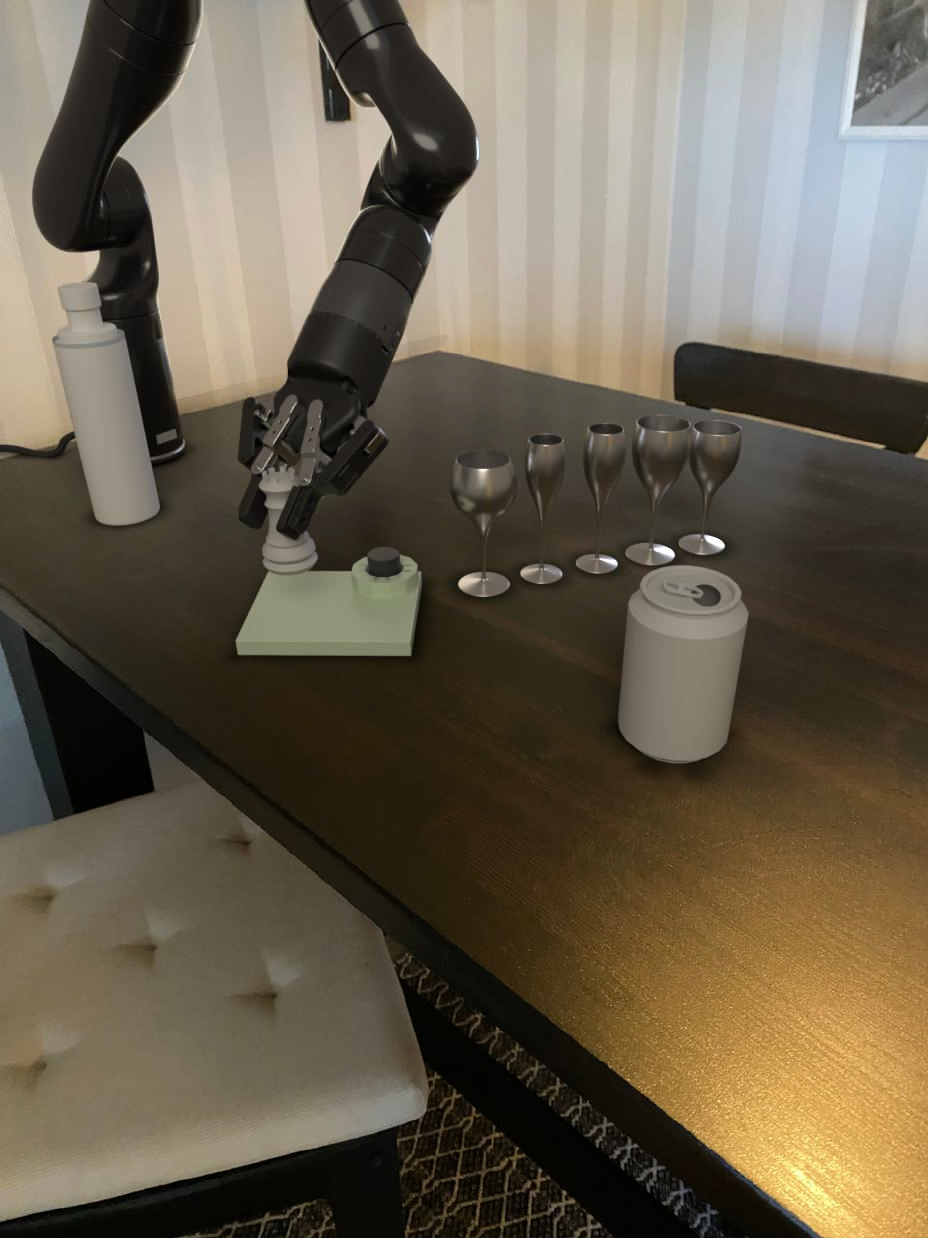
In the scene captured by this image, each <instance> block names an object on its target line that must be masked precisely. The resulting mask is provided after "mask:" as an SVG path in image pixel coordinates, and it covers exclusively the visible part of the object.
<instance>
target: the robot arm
mask: <svg viewBox="0 0 928 1238" xmlns="http://www.w3.org/2000/svg"><path fill="white" fill-rule="evenodd" d="M303 2H304V6H305V9H306V12H307V15H308V18H309V20H310V23H311V26H312V28H313V30H314V32H315V34H316V37H317V38H318V40H319V42H320V43H321V44H320V45H321V46H322V49H323V50H324V52H325V54H326V57H327V59H328V61H329V63H330V65H331V67H332V69H333V71H334V73H335V75H336V77H337V80H338V81H339V83H340V86H341V87H342V89H343V90H344V92H345V94H346V95H347V97H348V98H349V99H350V101H351V102H352V103H353V104H354V105H356V106H357V107H359V108H362V109H369V110H370V109H371V110H372V109H377V111H378V112H379V113H380V114H381V116H382V117H383V119H384V120H385V122H386V124H387V126H388V128H389V131H390V133H391V134H390V136H389V137H388V139H387V141H386V143H385V144H384V146H383V147H382V149H381V151H380V152H379V155H378V157H377V159H376V162H375V164H374V166H373V169H372V171H371V174H370V176H369V179H368V181H367V184H366V187H365V189H364V193H363V195H362V199H361V202H360V205H359V209H358V213H357V215H356V217H355V218H354V220H353V222H352V224H351V225H350V226H349V229H348V231H347V233H346V235H345V237H344V240H343V242H342V243H341V247H340V249H339V250H338V253H337V255H336V257H335V260H334V262H333V265H332V266H331V268H330V270H329V272H328V274H327V275H326V277H325V279H324V280H323V281H322V283H321V284H320V286H319V289H318V290H317V292H316V295H315V297H314V299H313V301H312V304H311V306H310V308H309V311H308V313H307V315H306V317H305V320H304V321H303V324H302V326H301V328H300V331H299V333H298V335H297V338H296V340H295V342H294V345H293V346H292V349H291V351H290V354H289V356H288V358H287V360H286V368H287V369H286V371H287V378H286V381H285V382H284V384H283V385H282V386H281V387H280V388H279V389H278V390H277V391H276V393H275V394H274V397H273V398H271V399H268V400H262V401H258V400H257V399H256V398H255V397H253V396H249V397H246V398H245V399H244V401H243V403H242V410H241V421H240V428H239V429H240V431H239V439H238V449H237V461H238V462H239V463H240V464H242V465H243V466H244V467H245V468H246V469H247V470H249V472H250V474H251V477H250V480H249V481H248V485H247V487H246V489H245V490H244V491H245V492H244V494H243V496H242V498H241V501H240V503H239V505H238V511H237V512H238V520H239V522H241V523H242V524H244V525H246V526H247V527H248V528H251V529H254V530H258V531H259V530H261V529H262V527H263V525H264V523H265V521H266V518H267V516H268V515H269V513H268V508H267V507H266V506H265V504H264V503H265V501H266V500H267V496H266V494H265V493H264V492H263V491H262V490H261V489H260V488H259V484H260V482H261V481H262V479H263V477H262V472H263V471H267V473H268V474H269V472H268V468H271V467H274V468H275V472H280V466H286V469H287V472H289V470H288V468H290V467H292V466H293V467H294V466H296V465H297V464H298V463H299V462H300V460H301V459H302V461H301V463H300V464H301V465H300V468H299V473H298V476H297V477H298V484H299V487H297V486H293V487H292V489H291V492H290V494H289V496H288V499H287V501H286V503H285V506H284V508H283V510H282V513H281V515H280V517H279V520H278V522H277V524H276V530H277V532H279V533H280V534H282V535H283V536H285V537H286V538H288V539H292V540H297V539H298V538H299V536H300V534H303V533H304V532H305V531H307V530H308V528H309V526H310V522H311V520H312V518H313V516H314V513H315V511H316V508H317V506H318V504H319V501H320V500H321V499H324V498H325V497H326V496H329V495H333V494H334V495H337V496H338V497H343V496H345V495H346V494H347V493H348V492H349V491H350V489H352V487H353V486H354V485H355V484H356V482H358V480H359V479H360V478H361V477H362V476H363V475H364V474H365V472H367V470H368V469H369V468H370V466H372V464H373V463H374V462H375V460H376V459H377V458H378V457H379V456H380V455H381V453H382V452H383V451H384V450H385V449H386V447H388V445H389V443H390V439H389V436H387V434H385V432H384V431H383V429H381V427H379V425H378V424H376V423H375V422H374V421H373V420H371V419H368V417H369V416H368V409H369V408H371V407H372V406H373V405H374V404H375V403H376V401H377V398H378V396H379V393H380V392H381V389H382V386H383V384H384V382H385V379H386V377H387V374H388V372H389V370H390V367H391V365H392V362H393V360H394V358H395V355H396V354H397V351H398V349H399V346H400V344H401V341H402V340H403V337H404V334H405V331H406V328H407V324H408V321H409V316H410V314H411V311H412V307H413V305H414V303H415V300H416V298H417V296H418V293H419V291H420V289H421V286H422V284H423V282H424V279H425V277H426V274H427V271H428V269H429V266H430V263H431V259H432V254H433V245H432V240H433V237H434V234H435V232H436V230H437V228H438V225H439V224H440V221H441V219H442V217H443V215H444V214H445V212H446V210H447V208H448V207H449V205H450V204H451V203H452V201H453V200H454V199H455V198H456V197H457V195H458V194H459V193H460V192H461V191H462V190H463V188H464V187H465V186H466V185H467V184H468V183H469V181H470V180H471V179H472V178H473V176H474V174H475V173H476V171H477V168H478V166H479V161H480V141H479V136H478V135H479V134H478V132H477V128H476V124H475V122H474V119H473V117H472V114H471V112H470V110H469V108H468V107H467V105H466V104H465V102H464V100H463V99H462V97H461V96H460V95H459V94H458V92H457V91H456V89H455V88H454V87H453V85H451V83H450V82H449V81H448V80H447V78H446V77H445V76H444V74H443V73H442V72H441V70H440V69H439V68H438V66H437V65H436V64H435V62H434V61H433V60H432V58H430V57H429V56H428V54H427V53H426V52H425V51H424V50H423V49H422V48H421V46H420V44H419V43H418V41H417V38H416V35H415V32H413V29H412V27H411V25H410V23H409V20H408V18H407V16H406V14H405V11H404V9H403V7H402V6H401V3H400V0H303ZM205 3H206V2H205V0H89V3H88V7H87V11H86V16H85V18H84V19H85V20H84V25H83V28H82V32H81V33H82V34H81V36H80V37H81V38H80V43H79V46H78V49H77V53H76V56H75V60H74V63H73V66H72V69H71V73H70V76H69V80H68V83H67V87H66V90H65V93H64V96H63V100H62V103H61V105H60V108H59V111H58V114H57V116H56V118H55V121H54V123H53V126H52V128H51V131H50V133H49V136H48V138H47V140H46V143H45V145H44V147H43V149H42V153H41V155H40V157H39V160H38V162H37V166H36V168H35V172H34V176H33V180H32V188H31V203H32V204H31V205H32V211H33V212H32V213H33V217H34V220H35V224H36V226H37V228H38V230H39V232H40V234H41V236H42V237H43V238H44V239H45V241H46V242H47V243H48V244H50V245H51V246H52V247H53V248H56V249H57V250H59V251H61V252H66V253H71V254H72V253H75V254H76V253H77V254H83V253H84V254H85V253H91V252H97V251H98V255H99V256H98V262H97V263H96V266H95V267H94V269H93V270H92V271H91V273H90V274H89V275H88V276H87V277H86V278H85V279H83V280H82V281H81V282H91V283H96V284H97V286H98V291H99V295H100V300H101V306H100V307H99V309H100V313H101V318H102V322H107V323H112V324H114V325H115V326H116V328H117V329H120V330H122V331H124V334H125V339H126V344H127V349H128V353H129V358H130V363H131V368H132V373H133V377H134V382H135V387H136V392H137V397H138V402H139V407H140V412H141V416H142V421H143V426H144V431H145V436H146V441H147V446H148V451H149V456H150V461H151V466H152V465H153V466H154V465H158V464H163V463H166V462H169V461H173V460H175V459H177V458H178V457H180V456H182V455H183V454H184V453H185V452H186V449H187V447H186V441H185V438H184V433H183V430H182V429H183V428H182V424H181V418H180V413H179V408H178V407H179V406H178V402H177V396H176V390H175V384H174V380H173V375H172V374H173V373H172V368H171V364H170V358H169V352H168V351H169V350H168V346H167V341H166V336H165V331H164V324H163V319H162V313H161V309H160V303H159V289H160V284H161V273H160V266H159V258H158V250H157V242H156V235H155V234H156V233H155V226H154V218H153V212H152V207H151V202H150V201H151V200H150V198H149V194H148V191H147V188H146V186H145V183H144V181H143V179H142V177H141V175H140V173H139V171H138V170H137V169H136V167H135V166H134V165H133V164H132V163H131V162H130V161H129V160H127V159H126V158H124V157H122V156H119V154H120V153H121V151H122V150H123V148H124V147H125V146H126V145H127V143H128V142H129V141H130V140H131V139H132V138H133V137H134V136H135V135H136V134H137V133H138V132H139V131H140V130H141V129H142V128H143V127H144V126H145V125H146V124H147V123H148V122H149V121H150V120H151V119H152V118H153V117H154V116H155V115H156V114H157V113H158V112H159V111H160V110H161V108H162V107H164V105H166V103H167V102H168V100H170V98H172V96H173V95H174V93H175V92H176V90H177V89H178V88H179V86H180V84H181V82H182V81H183V78H184V76H185V74H186V71H187V69H188V66H189V65H190V64H189V63H190V61H191V58H192V55H193V53H194V50H195V47H196V44H197V41H198V39H199V36H200V34H201V29H202V26H203V22H204V18H205V11H206V10H205V5H206V4H205ZM73 440H76V437H75V433H74V430H73V431H70V432H68V433H66V434H65V435H63V436H62V437H61V438H60V440H59V442H58V444H57V446H56V448H54V449H51V450H36V449H33V448H28V447H25V446H21V445H15V444H0V453H15V454H20V455H22V456H28V457H32V458H33V457H35V458H46V459H47V458H49V459H50V458H56V457H58V456H61V455H62V454H64V452H65V451H66V449H67V445H68V444H69V443H70V442H71V441H73ZM282 442H284V444H286V445H287V446H288V448H287V447H286V446H284V445H283V443H282ZM276 458H277V459H276ZM275 459H276V460H275ZM274 461H275V462H274ZM273 462H274V464H273V465H272V463H273ZM271 465H272V466H271Z"/></svg>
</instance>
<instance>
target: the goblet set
mask: <svg viewBox="0 0 928 1238" xmlns="http://www.w3.org/2000/svg"><path fill="white" fill-rule="evenodd" d="M690 422H691V421H689V420H687V419H685V418H684V417H680V416H676V415H671V414H649V415H645V416H641V417H639V418H638V419H637V420H636V422H635V425H634V430H633V434H632V438H631V459H632V466H633V468H634V472H635V474H636V476H637V478H638V479H639V481H640V482H641V485H642V486H643V488H644V489H645V491H646V492H647V495H648V497H649V500H650V527H649V537H648V538H649V539H648V542H640V543H635V544H632V545H629V546H628V547H627V548H626V550H625V555H626V558H627V559H629V560H630V561H632V562H633V563H636V564H639V565H643V566H651V567H652V566H654V567H655V566H656V567H657V566H663V565H667V564H669V563H671V562H672V561H674V559H675V556H676V555H675V552H674V551H673V549H671V548H669V547H667V546H666V545H662V544H659V543H654V541H655V531H656V523H657V516H658V511H659V506H660V503H661V501H662V499H663V497H664V496H665V494H666V493H667V491H669V490H670V489H671V487H672V486H673V485H674V484H675V483H676V482H677V481H678V480H679V479H680V477H681V476H682V474H683V473H684V471H685V469H686V466H687V464H689V465H688V466H689V468H690V471H691V473H692V475H693V477H694V479H695V481H696V482H697V484H698V486H699V488H700V492H701V493H702V521H701V530H700V533H699V534H698V533H697V534H695V533H694V534H688V535H685V536H682V537H681V538H679V540H678V547H680V549H681V550H683V551H684V552H687V553H690V554H693V555H699V556H713V555H718V554H719V553H722V552H723V551H724V550H725V544H724V542H723V541H722V540H721V539H719V538H717V537H715V536H712V535H708V534H706V529H707V524H708V523H707V522H708V517H709V512H710V509H711V504H712V501H713V498H714V497H715V494H716V492H717V491H718V490H719V488H720V487H721V486H722V485H723V484H724V483H725V482H726V481H727V480H728V478H730V477H731V475H732V474H733V472H734V470H736V469H735V468H736V467H737V465H738V462H739V459H740V455H741V450H742V428H741V426H739V425H738V424H736V423H734V422H730V421H727V420H719V419H708V420H701V421H697V422H695V423H694V424H693V425H692V424H691V423H690ZM691 425H692V426H691ZM526 444H527V445H526V449H525V450H526V451H525V454H524V455H525V456H524V475H525V480H526V485H527V488H528V490H529V493H530V495H531V497H532V499H533V503H534V506H535V507H536V510H537V511H536V512H537V514H538V520H539V521H538V522H539V563H533V564H529V565H527V566H525V567H523V568H522V569H521V570H520V577H521V578H522V579H523V580H524V581H526V582H527V583H531V584H535V585H549V584H553V583H556V582H558V581H559V580H561V579H562V577H563V572H562V570H561V569H560V568H558V567H557V566H555V565H552V564H549V563H544V558H545V542H546V541H545V540H546V528H547V522H548V518H549V517H548V516H549V513H550V510H551V508H552V505H553V504H554V501H555V500H556V497H557V495H558V493H559V491H560V489H561V486H562V483H563V480H564V477H565V471H566V451H565V442H564V438H563V437H562V436H560V435H558V434H553V433H537V434H533V435H531V436H529V437H528V439H527V443H526ZM582 449H583V451H582V465H583V466H582V467H583V472H584V477H585V479H586V482H587V486H588V488H589V490H590V493H591V495H592V498H593V501H594V504H595V512H596V542H595V553H590V554H584V555H582V556H580V557H578V558H577V559H576V561H575V566H576V567H577V569H579V570H580V571H583V572H585V573H589V574H595V575H603V574H608V573H611V572H614V571H615V570H616V569H617V568H618V561H617V560H616V559H615V558H613V557H611V556H610V555H605V554H601V553H600V549H601V548H600V547H601V536H602V535H601V533H602V524H603V519H604V514H605V510H606V507H607V504H608V501H609V499H610V497H611V495H612V493H613V492H614V490H615V488H616V486H617V485H618V483H619V481H620V478H621V476H622V473H623V470H624V467H625V462H626V461H625V460H626V435H625V428H624V427H623V425H622V426H621V425H620V424H616V423H610V422H600V423H599V422H598V423H597V422H596V423H592V424H591V425H589V426H587V430H586V434H585V437H584V443H583V448H582ZM517 479H518V478H517V475H516V471H515V467H514V464H513V461H512V459H511V457H510V456H509V455H508V454H507V453H504V452H502V451H499V450H494V449H475V450H469V451H466V452H463V453H461V454H459V455H458V456H457V457H456V458H455V462H454V465H453V468H452V471H451V474H450V480H449V492H450V497H451V500H452V502H453V504H454V506H455V507H456V508H457V510H459V512H461V514H463V515H464V516H465V517H466V518H467V519H469V520H470V521H471V522H472V524H473V525H474V526H475V528H476V530H477V533H478V536H479V540H480V541H479V542H480V548H481V571H477V572H471V573H468V574H466V575H464V576H462V577H461V578H460V580H459V581H458V583H457V585H458V589H459V590H460V591H461V592H462V593H463V594H466V595H468V596H471V597H476V598H492V597H496V596H500V595H502V594H504V593H505V592H507V591H508V589H509V588H510V581H509V579H508V578H507V577H506V576H504V575H503V574H500V573H496V572H492V571H487V560H486V559H487V544H488V537H489V533H490V531H491V528H492V527H493V525H494V524H495V523H496V521H497V520H499V519H500V518H501V517H502V516H503V515H504V514H506V512H507V511H509V509H510V508H511V507H512V505H513V504H514V502H515V500H516V496H517V492H518V480H517Z"/></svg>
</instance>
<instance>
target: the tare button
mask: <svg viewBox="0 0 928 1238" xmlns="http://www.w3.org/2000/svg"><path fill="white" fill-rule="evenodd" d="M366 555H367V556H366V557H367V558H368V570H369V574H370V575H371V576H375V577H391V576H395V575H398V574H399V573H400V571H401V567H400V555H401V553H400V551H399V550H398V549H396V548H395V547H392V546H391V547H390V546H380V547H374V548H373V549H371V550H369V551H368V552H367V554H366Z"/></svg>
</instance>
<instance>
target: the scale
mask: <svg viewBox="0 0 928 1238" xmlns="http://www.w3.org/2000/svg"><path fill="white" fill-rule="evenodd" d="M418 565H419V564H418V563H417V562H415V561H414V560H413V559H412V558H411V557H409V556H407V555H406V556H405V555H403V554H400V567H401V571H400V573H399V574H398V575H395V576H391V577H375V576H371V575H370V574H369V570H368V558H367V556H364V557H362V558H361V559H359V560H358V561H356V562H355V563H353V565H352V568H351V570H350V571H349V570H308V571H306V572H303V573H300V574H296V575H290V576H288V575H277V574H274V573H272V572H270V571H269V570H267V573H266V574H265V575H266V576H265V578H264V580H263V582H262V584H261V586H260V588H259V590H258V593H257V594H256V597H255V598H254V601H253V603H252V605H251V606H250V609H249V612H248V614H247V615H246V618H245V620H244V622H243V624H242V626H241V629H240V631H239V633H238V635H237V637H236V639H235V646H236V651H237V656H318V657H319V656H326V657H327V656H333V657H334V656H335V657H336V656H338V657H339V656H340V657H341V656H342V657H343V656H344V657H347V656H348V657H349V656H350V657H357V656H358V657H411V656H412V651H413V646H414V638H415V633H416V627H417V619H418V615H419V614H418V613H419V608H420V600H421V593H422V587H423V575H422V574H423V573H422V571H420V570H419V566H418Z"/></svg>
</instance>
